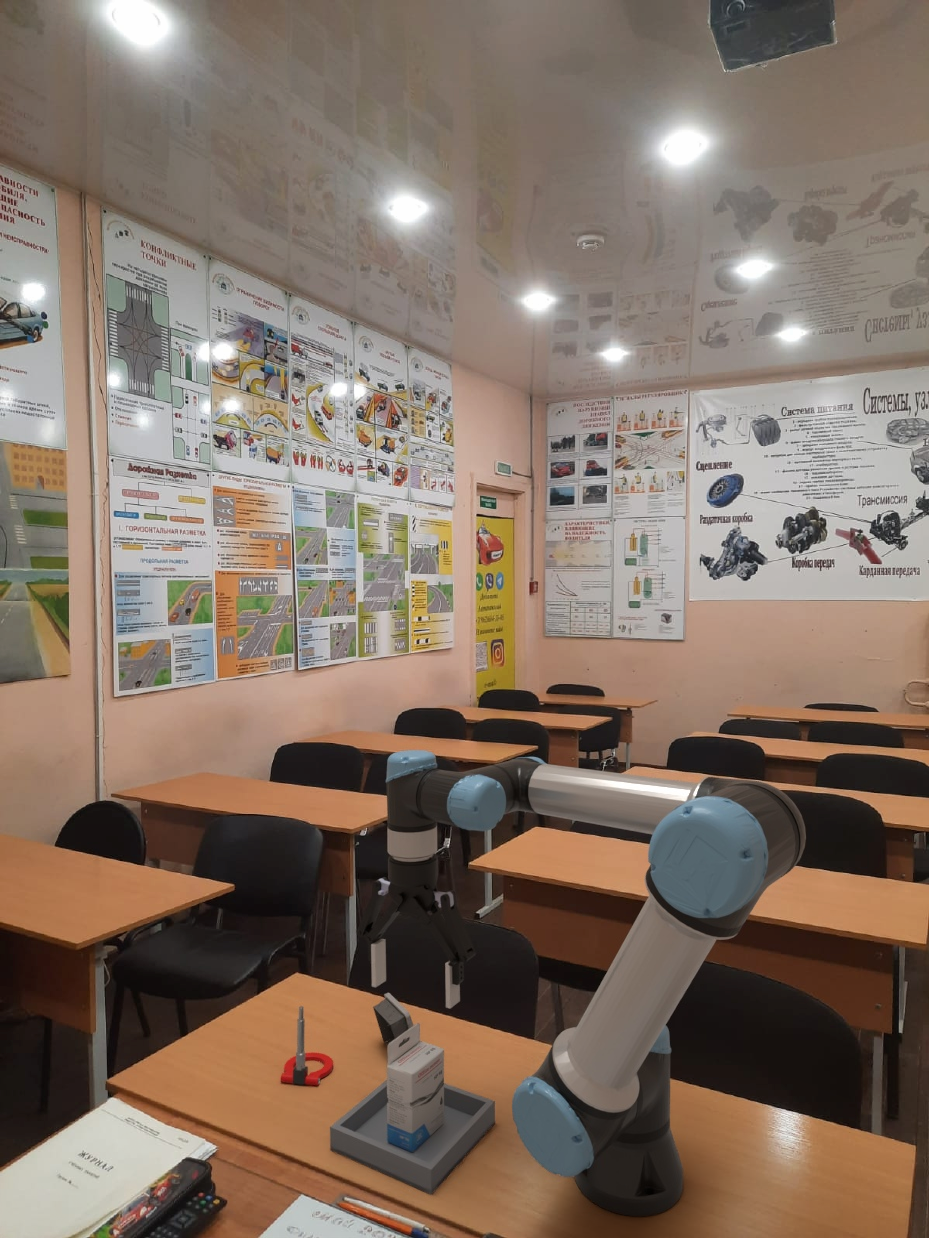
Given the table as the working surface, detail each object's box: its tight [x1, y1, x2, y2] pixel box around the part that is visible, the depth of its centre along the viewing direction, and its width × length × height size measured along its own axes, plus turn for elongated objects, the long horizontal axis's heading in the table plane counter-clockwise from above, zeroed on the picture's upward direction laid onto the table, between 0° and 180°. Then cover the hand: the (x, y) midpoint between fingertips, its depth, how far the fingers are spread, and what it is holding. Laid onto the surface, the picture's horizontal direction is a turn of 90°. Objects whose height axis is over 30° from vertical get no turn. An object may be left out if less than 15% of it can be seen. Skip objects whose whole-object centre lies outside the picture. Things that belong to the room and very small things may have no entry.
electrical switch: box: [372, 992, 415, 1048], centre depth 149 cm, size 9×5×9 cm, turn 30°
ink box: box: [386, 1022, 445, 1152], centre depth 125 cm, size 8×5×15 cm, turn 147°
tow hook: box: [280, 1005, 334, 1086], centre depth 143 cm, size 8×13×9 cm
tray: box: [329, 1079, 496, 1196], centre depth 125 cm, size 18×18×4 cm
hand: (414, 993), depth 124 cm, fingers open, 13 cm apart
